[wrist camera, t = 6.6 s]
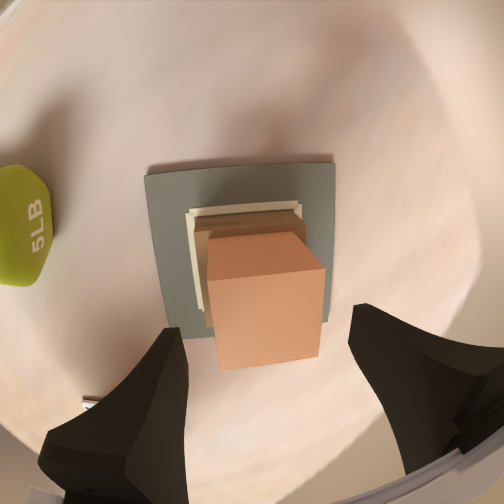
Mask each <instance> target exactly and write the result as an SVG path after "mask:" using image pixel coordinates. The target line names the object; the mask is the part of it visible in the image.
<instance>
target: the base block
mask: <svg viewBox="0 0 504 504" xmlns="http://www.w3.org/2000/svg"><path fill="white" fill-rule="evenodd" d="M287 231H293V232H294V233H295V234H296V236H297V237H298V238H299V239H300V240H301V241H302V242H303V243H304V245H305V246H306V222H304V221H303V220H302V219H301V218H300V217H299V216H297V215H296V214H295V213H294V212H293V211H279V212H265V213H252V214H240V215H228V216H217V217H206V218H197V219H196V223H195V228H194V240H195V249H196V257H197V264H198V272H199V279H200V286H201V293H202V300H203V307H204V313H205V319H206V326H207V328H208V327H213V320H212V313H211V306H210V299H209V292H208V284H207V264H208V239H210V238H220V237H231V236H242V235H253V234H264V233H275V232H287Z"/></svg>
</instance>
